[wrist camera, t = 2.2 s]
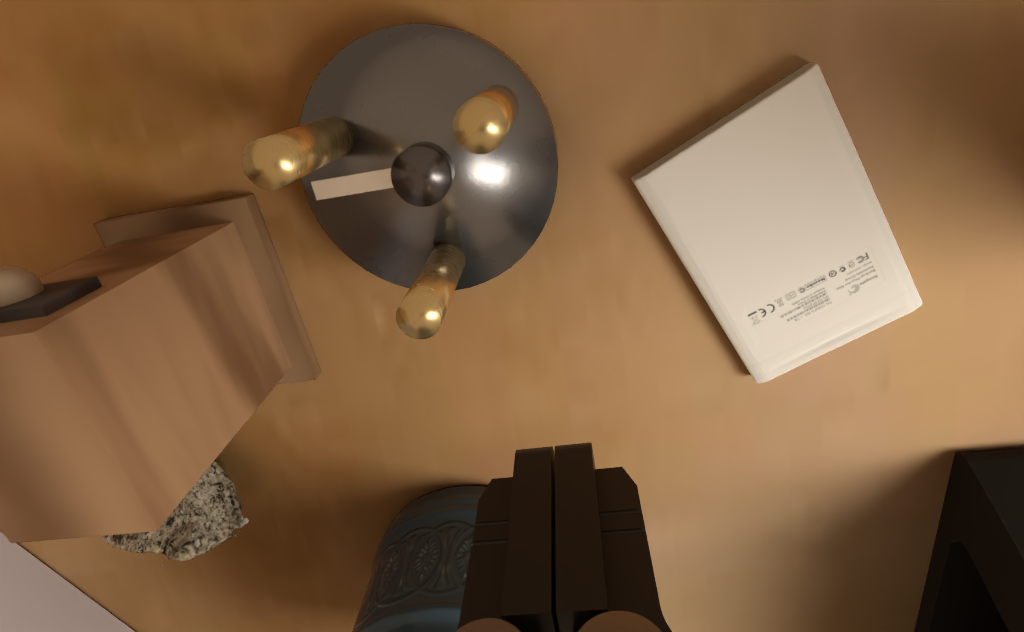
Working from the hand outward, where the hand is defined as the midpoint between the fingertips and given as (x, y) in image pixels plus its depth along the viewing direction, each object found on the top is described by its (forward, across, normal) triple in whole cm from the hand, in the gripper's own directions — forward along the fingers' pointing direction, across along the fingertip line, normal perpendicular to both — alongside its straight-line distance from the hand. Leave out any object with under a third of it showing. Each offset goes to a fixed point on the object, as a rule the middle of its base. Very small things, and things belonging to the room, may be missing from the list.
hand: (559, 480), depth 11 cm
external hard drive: (+17, -10, +2) cm, 20 cm away
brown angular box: (+17, +18, +1) cm, 25 cm away
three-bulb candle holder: (+17, +5, -4) cm, 18 cm away
